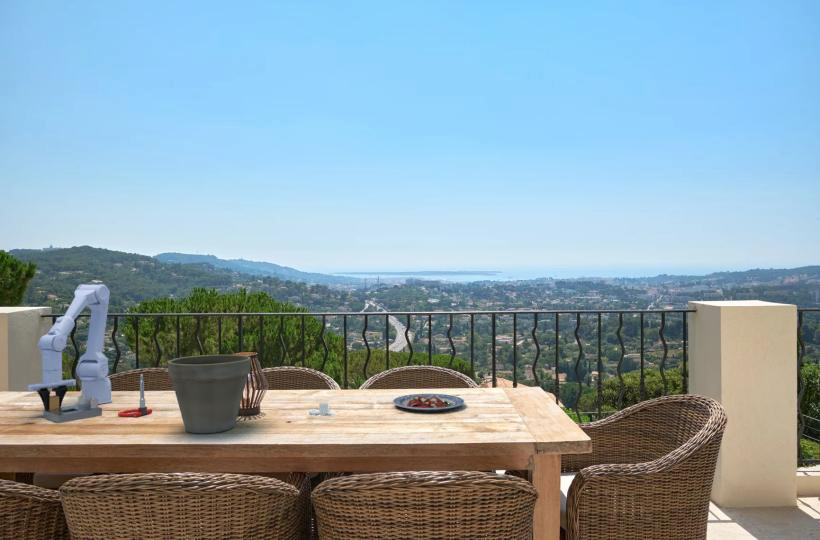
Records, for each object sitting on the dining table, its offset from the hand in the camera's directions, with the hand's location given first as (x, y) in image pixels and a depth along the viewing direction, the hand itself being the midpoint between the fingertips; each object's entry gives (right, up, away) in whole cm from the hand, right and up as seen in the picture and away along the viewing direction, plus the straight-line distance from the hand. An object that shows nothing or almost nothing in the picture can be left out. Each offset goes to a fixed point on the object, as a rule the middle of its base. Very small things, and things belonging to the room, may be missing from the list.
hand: (52, 409), depth 214 cm
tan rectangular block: (0, -2, 0) cm, 2 cm away
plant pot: (+60, -2, -18) cm, 62 cm away
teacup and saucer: (+92, -2, +2) cm, 92 cm away
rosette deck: (+8, -2, -2) cm, 8 cm away
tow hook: (+27, -2, +1) cm, 27 cm away
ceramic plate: (+128, -2, +12) cm, 129 cm away
